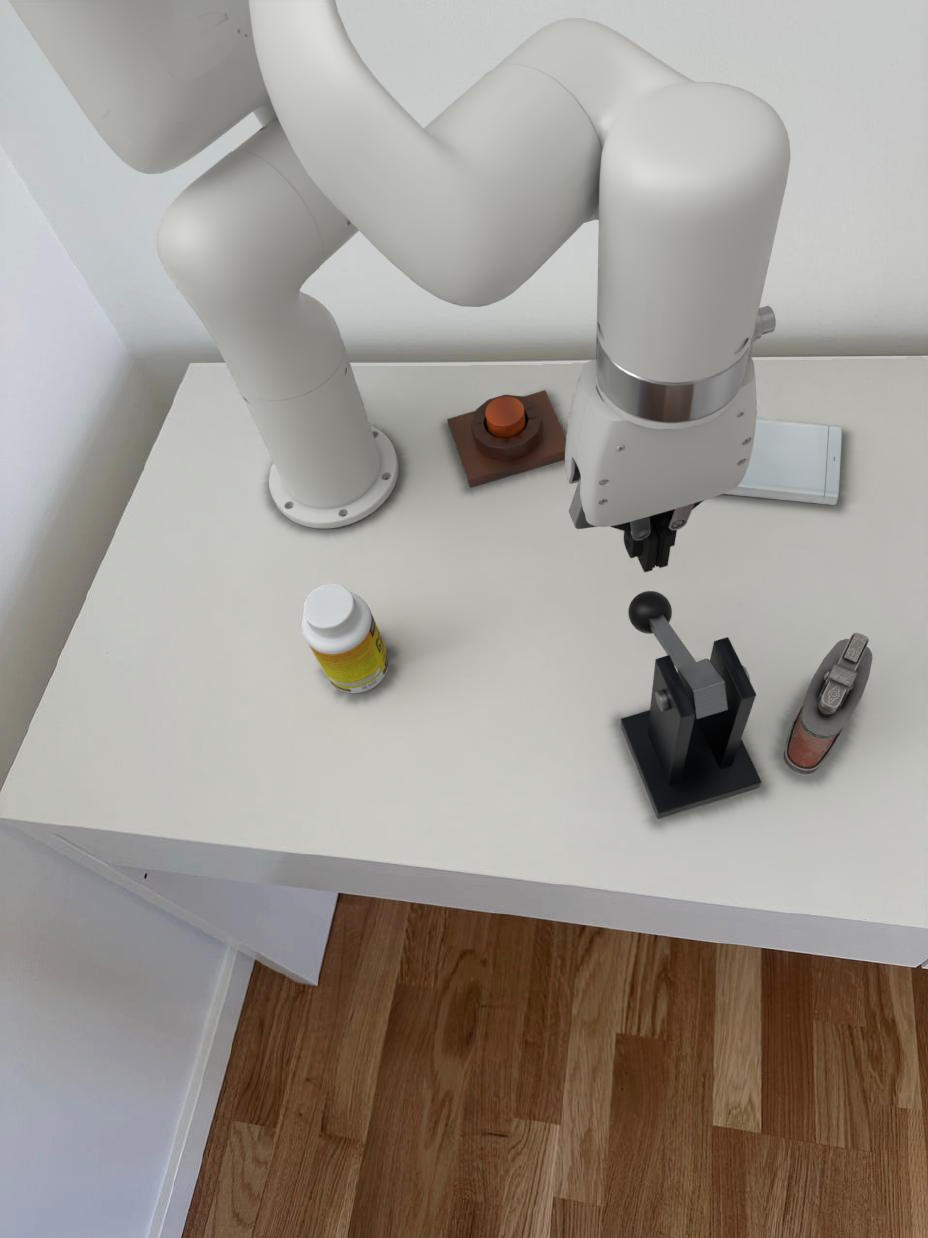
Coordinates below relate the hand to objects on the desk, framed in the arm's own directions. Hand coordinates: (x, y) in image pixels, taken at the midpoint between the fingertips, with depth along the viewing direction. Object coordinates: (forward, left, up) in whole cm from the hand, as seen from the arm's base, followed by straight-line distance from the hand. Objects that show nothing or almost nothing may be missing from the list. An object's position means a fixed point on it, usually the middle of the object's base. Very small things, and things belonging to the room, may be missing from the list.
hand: (647, 552), depth 62 cm
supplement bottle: (-7, -23, -15) cm, 28 cm away
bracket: (+9, 0, -15) cm, 18 cm away
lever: (+5, 0, -7) cm, 9 cm away
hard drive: (-15, +17, -15) cm, 27 cm away
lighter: (+10, +10, -15) cm, 21 cm away
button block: (-26, -4, -15) cm, 30 cm away
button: (-26, -4, -13) cm, 29 cm away
